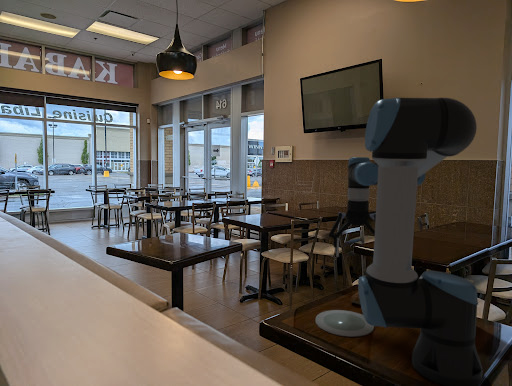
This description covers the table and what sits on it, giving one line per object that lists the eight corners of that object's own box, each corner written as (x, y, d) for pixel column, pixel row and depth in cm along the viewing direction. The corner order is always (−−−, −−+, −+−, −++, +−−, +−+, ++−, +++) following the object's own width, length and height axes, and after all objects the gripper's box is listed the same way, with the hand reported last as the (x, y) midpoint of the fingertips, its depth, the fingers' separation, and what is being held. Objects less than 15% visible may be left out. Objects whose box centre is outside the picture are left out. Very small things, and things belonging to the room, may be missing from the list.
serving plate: (377, 339, 101) (377, 337, 101) (314, 333, 105) (314, 331, 105) (370, 314, 119) (370, 312, 119) (316, 309, 123) (316, 307, 123)
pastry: (359, 307, 124) (359, 297, 124) (345, 300, 130) (346, 290, 130) (377, 302, 129) (378, 292, 129) (363, 296, 135) (364, 286, 134)
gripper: (392, 199, 129) (390, 256, 131) (323, 198, 134) (322, 252, 136) (396, 201, 122) (394, 261, 124) (323, 199, 127) (321, 257, 129)
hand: (356, 257), depth 130 cm, fingers open, 13 cm apart
